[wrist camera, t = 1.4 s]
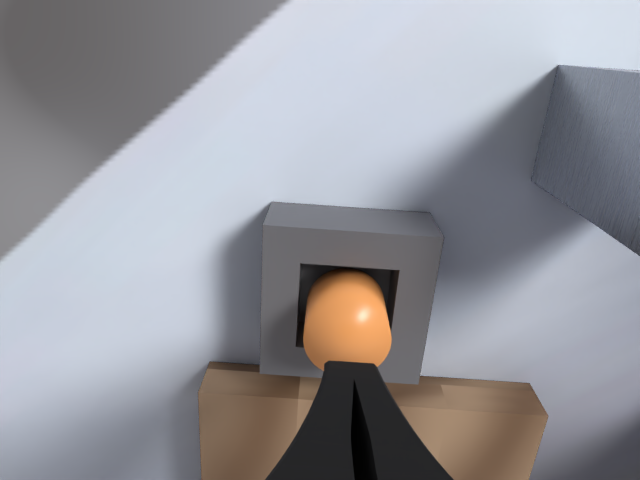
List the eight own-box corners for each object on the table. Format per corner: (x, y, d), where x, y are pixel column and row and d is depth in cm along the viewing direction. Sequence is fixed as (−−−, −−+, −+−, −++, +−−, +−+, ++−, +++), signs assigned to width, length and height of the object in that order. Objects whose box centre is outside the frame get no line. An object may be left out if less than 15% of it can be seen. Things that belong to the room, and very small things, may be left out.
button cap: (388, 270, 17) (396, 305, 15) (379, 338, 18) (386, 379, 16) (309, 265, 17) (305, 299, 15) (305, 333, 18) (301, 374, 16)
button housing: (429, 212, 18) (444, 237, 16) (408, 346, 21) (418, 384, 18) (271, 201, 18) (262, 225, 16) (267, 336, 21) (259, 373, 18)
